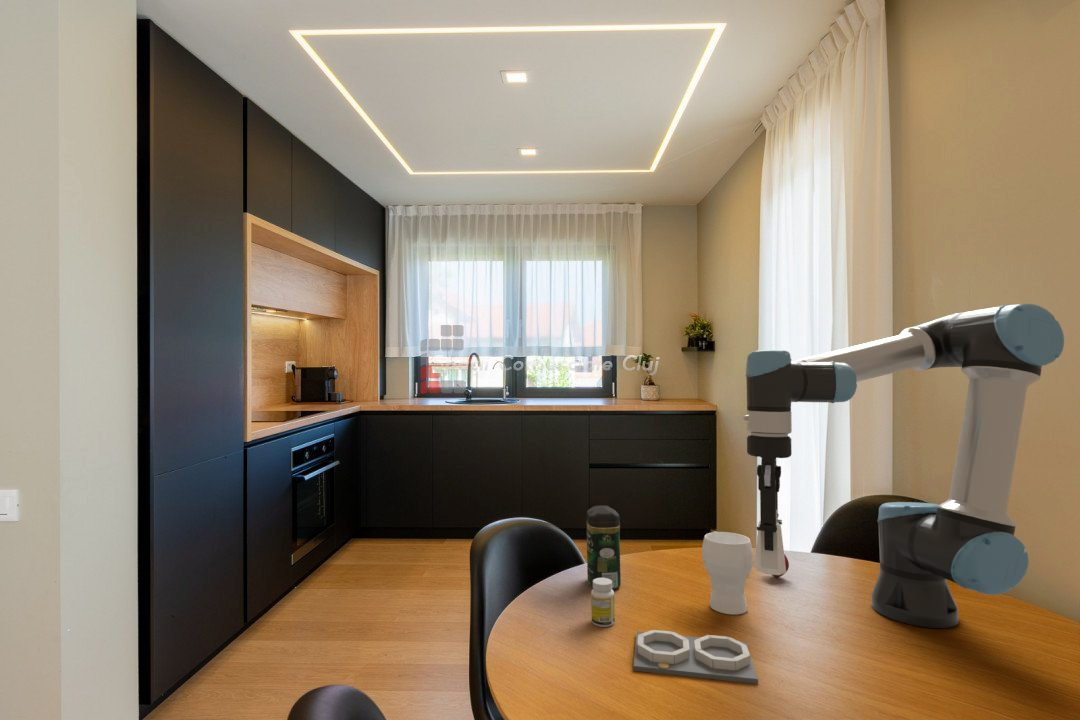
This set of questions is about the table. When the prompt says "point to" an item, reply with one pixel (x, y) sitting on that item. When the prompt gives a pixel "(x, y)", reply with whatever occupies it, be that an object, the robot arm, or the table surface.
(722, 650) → the collar board
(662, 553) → the table surface
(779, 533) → the pepper shaker
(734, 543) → the cup
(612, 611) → the supplement bottle
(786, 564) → the onion
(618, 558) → the coffee jar
